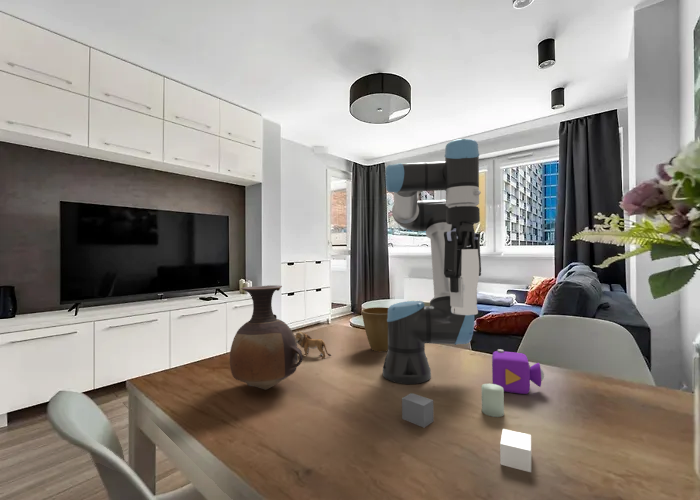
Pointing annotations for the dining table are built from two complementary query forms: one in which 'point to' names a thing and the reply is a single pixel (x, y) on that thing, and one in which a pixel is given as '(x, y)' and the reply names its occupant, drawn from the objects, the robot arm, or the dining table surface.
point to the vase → (264, 344)
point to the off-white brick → (515, 450)
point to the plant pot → (376, 327)
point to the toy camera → (514, 372)
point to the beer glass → (468, 282)
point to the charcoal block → (417, 410)
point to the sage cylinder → (492, 400)
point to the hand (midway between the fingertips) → (464, 304)
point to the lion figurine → (310, 343)
